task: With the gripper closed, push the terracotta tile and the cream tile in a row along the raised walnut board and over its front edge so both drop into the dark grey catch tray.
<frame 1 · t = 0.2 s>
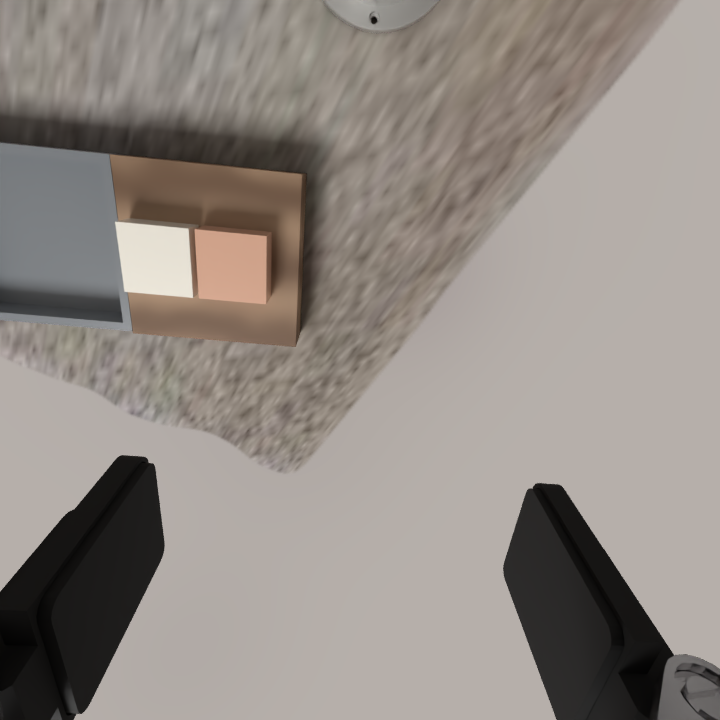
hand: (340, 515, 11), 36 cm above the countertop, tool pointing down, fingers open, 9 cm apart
walnut board: (223, 251, 43), on the countertop
terracotta tile: (238, 262, 40), point 4 cm above the countertop, touching walnut board
catch tray: (56, 235, 42), on the countertop
cream tile: (167, 255, 39), point 4 cm above the countertop, touching walnut board
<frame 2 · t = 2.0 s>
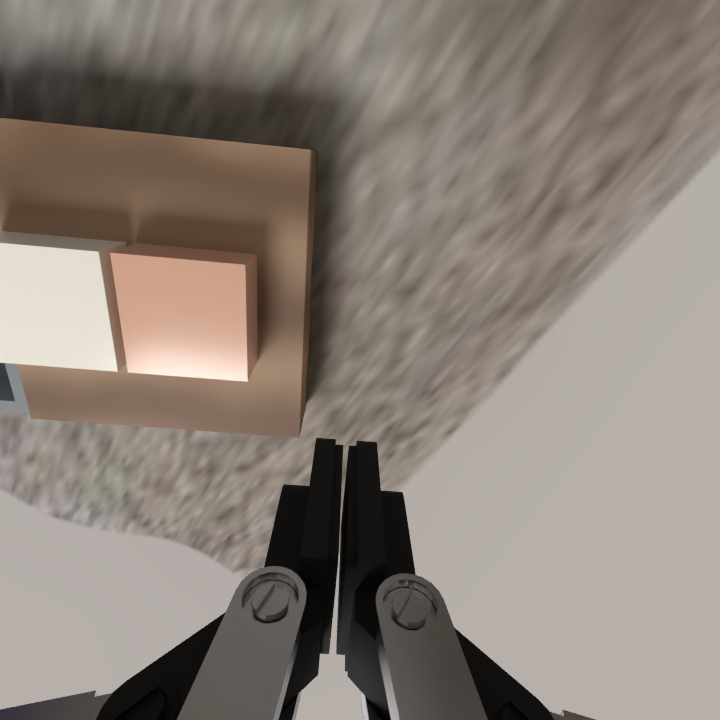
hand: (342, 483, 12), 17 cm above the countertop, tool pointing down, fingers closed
walnut board: (180, 282, 26), on the countertop
terracotta tile: (200, 305, 23), point 4 cm above the countertop, touching walnut board
cream tile: (75, 295, 23), point 4 cm above the countertop, touching walnut board
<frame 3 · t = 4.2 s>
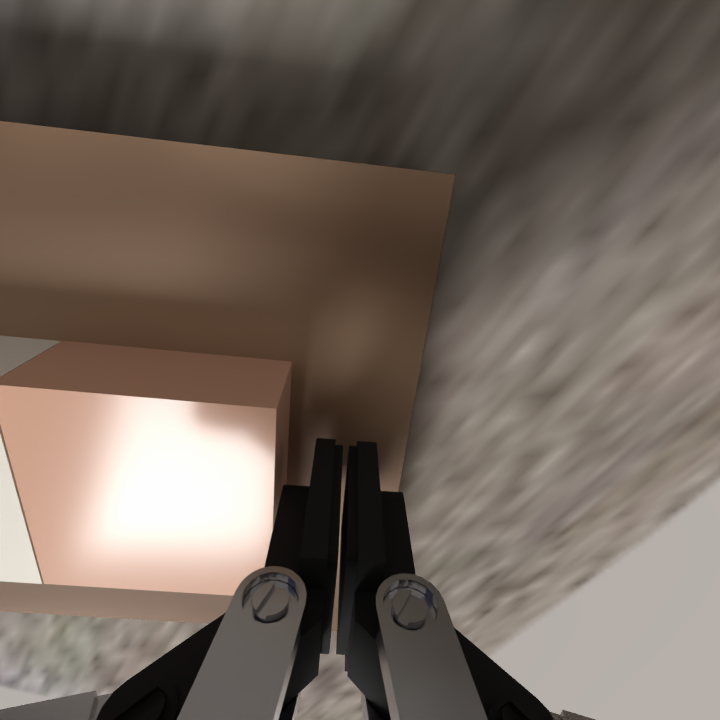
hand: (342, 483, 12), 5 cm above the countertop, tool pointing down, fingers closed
walnut board: (183, 378, 16), on the countertop
terracotta tile: (185, 444, 13), point 4 cm above the countertop, touching gripper, walnut board
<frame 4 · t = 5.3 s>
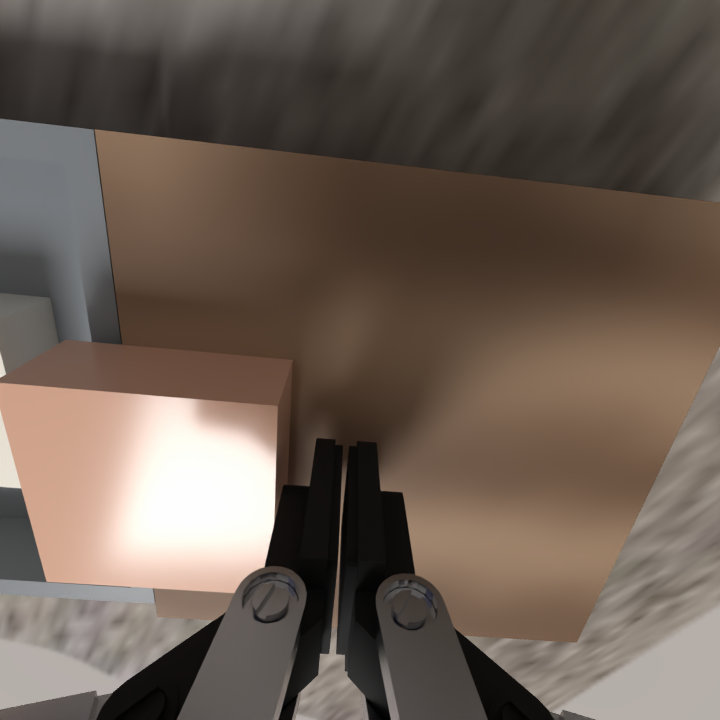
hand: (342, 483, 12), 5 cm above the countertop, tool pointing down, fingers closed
walnut board: (392, 394, 17), on the countertop
terracotta tile: (187, 443, 13), point 4 cm above the countertop, touching gripper, walnut board
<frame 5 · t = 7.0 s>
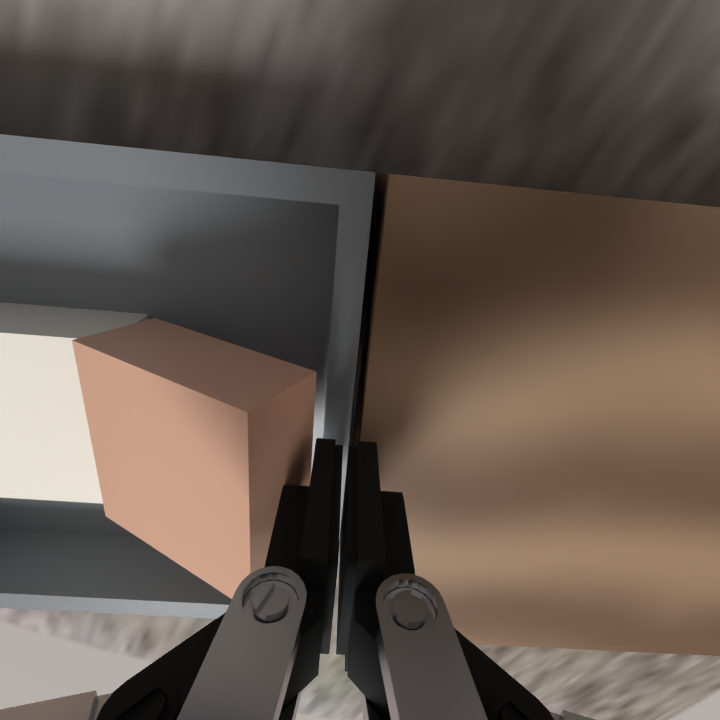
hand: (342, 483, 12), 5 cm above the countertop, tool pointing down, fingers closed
walnut board: (558, 413, 17), on the countertop
terracotta tile: (230, 432, 13), point 3 cm above the countertop, tilted 30°, touching cream tile, gripper
catch tray: (136, 382, 16), on the countertop
cream tile: (24, 423, 13), point 3 cm above the countertop, tilted 180°, touching catch tray, terracotta tile
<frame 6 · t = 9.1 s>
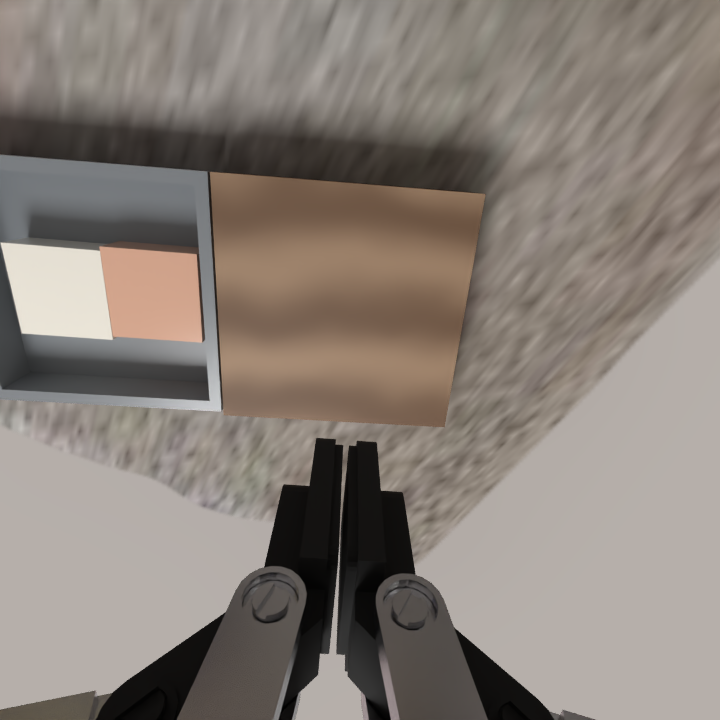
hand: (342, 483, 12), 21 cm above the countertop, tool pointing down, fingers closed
walnut board: (342, 299, 32), on the countertop
terracotta tile: (168, 287, 30), point 1 cm above the countertop, touching catch tray
catch tray: (116, 284, 31), on the countertop
cream tile: (59, 293, 28), point 3 cm above the countertop, tilted 180°, touching catch tray
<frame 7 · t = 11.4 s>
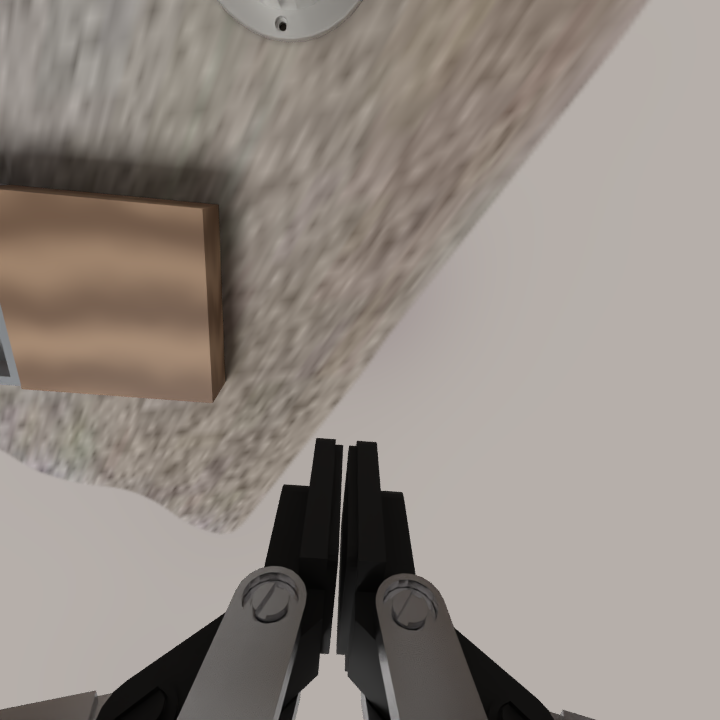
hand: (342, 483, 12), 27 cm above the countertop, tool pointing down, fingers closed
walnut board: (129, 293, 37), on the countertop
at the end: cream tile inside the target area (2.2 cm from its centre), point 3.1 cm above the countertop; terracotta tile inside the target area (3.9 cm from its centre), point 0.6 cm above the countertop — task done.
